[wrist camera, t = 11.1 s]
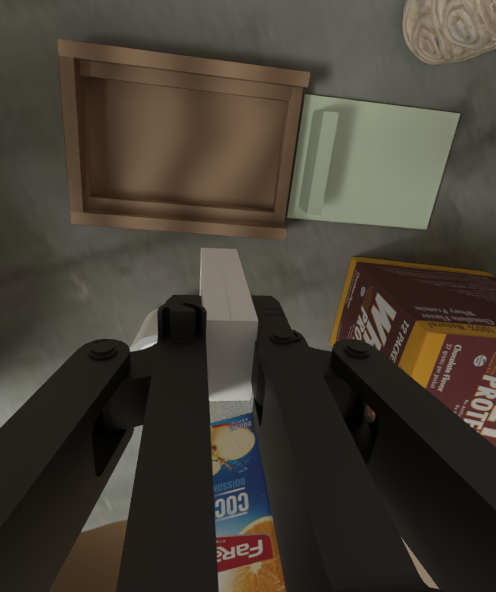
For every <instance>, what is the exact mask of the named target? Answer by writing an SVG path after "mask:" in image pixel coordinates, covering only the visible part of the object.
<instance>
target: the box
mask: <svg viewBox="0 0 496 592" xmlns="http://www.w3.org/2000/svg"><path fill="white" fill-rule="evenodd" d="M57 44H58V57H59V70H60V83H61V97H62V110H63V123H64V137H65V150H66V163H67V177H68V190H69V203H70V216H71V224H79V225H93V226H106V227H119V228H132V229H145V230H158V231H171V232H185V233H198V234H211V235H224V236H237V237H250V238H264V239H277V240H286V234H287V228H286V227H285V225H284V221H285V214H286V207H287V200H288V193H289V186H290V179H291V172H292V165H293V158H294V151H295V144H296V137H297V130H298V123H299V116H300V109H301V102H302V95H303V88H307V87H308V84H309V77H310V72H305V71H297V70H289V69H282V68H274V67H267V66H259V65H252V64H244V63H237V62H229V61H221V60H214V59H206V58H199V57H191V56H184V55H176V54H169V53H161V52H153V51H146V50H138V49H131V48H123V47H116V46H108V45H101V44H93V43H85V42H78V41H70V40H63V39H57Z"/></svg>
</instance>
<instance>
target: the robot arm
mask: <svg viewBox="0 0 496 592" xmlns="http://www.w3.org/2000/svg"><path fill="white" fill-rule="evenodd" d="M157 323H158V339H157V343H156V344H154V345H153V346H151V347H148V348H146V349H142V350H138V351H132V352H130V349H129V347H128V345H127V344H125V343H124V342H122V341H118V340H114V339H101V340H100V339H99V340H95V341H92V342H89V343H87V344H84V345H83V346H82V347H80V348H79V349H78V350H77V351H76V352H75V353H74V354H73V355H72V356H71V357H70V358H69V359H68V360H67V361H66V362H65V363H64V364H63V365H62V366H61V367H60V368H59V369H58V370H57V371H56V372H55V373H54V374H53V375H52V376H51V377H50V378H49V379H48V380H47V381H46V382H45V383H44V384H43V385H42V386H41V387H40V388H39V389H38V390H37V391H36V392H35V393H34V394H33V395H32V396H31V397H30V398H29V399H28V401H27V402H26V403H25V404H24V405H23V406H22V407H21V408H20V409H19V410H18V411H17V412H16V413H15V414H14V415H13V416H12V417H11V418H10V419H9V420H8V421H7V422H6V423H5V424H4V425H3V426H2V427H1V428H0V592H49V590H50V588H51V586H52V584H53V583H54V581H55V579H56V577H57V575H58V573H59V571H60V570H61V568H62V566H63V564H64V562H65V560H66V558H67V556H68V555H69V553H70V550H71V549H72V547H73V545H74V543H75V542H76V540H77V538H78V536H79V534H80V532H81V530H82V528H83V527H84V525H85V523H86V521H87V519H88V517H89V515H90V514H91V512H92V510H93V508H94V506H95V504H96V502H97V501H98V499H99V497H100V495H101V493H102V491H103V489H104V487H105V486H106V484H107V482H108V480H109V478H110V476H111V474H112V473H113V471H114V469H115V467H116V465H117V463H118V461H119V459H120V458H121V456H122V454H123V452H124V450H125V448H126V446H127V445H128V443H129V441H130V439H131V437H132V435H133V431H134V427H136V426H140V425H143V431H142V437H141V443H140V449H139V455H138V461H137V467H136V473H135V479H134V485H133V491H132V497H131V503H130V510H129V516H128V522H127V528H126V534H125V541H124V546H123V553H122V558H121V564H120V570H119V576H118V582H117V589H116V592H219V585H218V566H217V546H216V527H215V507H214V488H213V468H212V448H211V429H210V409H209V401H251V392H252V390H253V394H254V401H253V411H252V421H251V431H250V432H254V430H255V427H256V433H257V438H258V443H259V449H260V454H261V459H262V465H263V470H264V475H265V481H266V486H267V491H268V497H269V502H270V507H271V513H272V518H273V523H274V529H275V534H276V539H277V545H278V550H279V555H280V561H281V566H282V571H283V577H284V582H285V587H286V592H496V447H495V446H494V445H493V444H491V443H490V442H489V441H488V440H487V439H485V438H484V437H483V436H482V435H481V434H479V433H478V432H477V431H476V430H475V429H473V428H472V427H471V426H470V425H469V424H467V423H466V422H465V421H464V420H462V419H461V418H460V417H459V416H458V415H456V414H455V413H454V412H453V411H452V410H450V409H449V408H448V407H447V406H446V405H444V404H443V403H442V402H441V401H440V400H438V399H437V398H436V397H435V396H434V395H432V394H431V393H430V392H429V391H427V390H426V389H425V388H424V387H423V386H421V385H420V384H419V383H418V382H417V381H415V380H414V379H413V378H412V377H411V376H409V375H408V374H407V373H406V372H405V371H403V370H402V369H401V368H400V367H399V366H397V365H396V364H395V363H394V362H392V361H391V360H390V359H389V358H388V357H386V356H385V355H384V354H383V353H382V352H380V351H379V350H378V349H377V348H375V347H374V346H372V345H371V344H369V343H366V342H363V341H362V340H358V339H357V340H356V339H343V340H339V341H337V342H336V343H335V344H333V350H332V352H330V351H325V350H319V349H315V348H311V347H309V346H308V344H307V342H306V340H305V338H304V337H303V336H302V335H301V334H300V333H298V332H297V331H295V330H292V329H291V327H290V325H289V323H288V321H287V318H286V316H285V314H284V312H283V310H282V307H281V305H280V303H279V302H278V301H277V300H276V299H274V298H273V297H272V296H251V295H250V292H249V289H248V285H247V282H246V279H245V276H244V272H243V269H242V266H241V262H240V259H239V256H238V253H237V249H223V248H201V263H200V295H173V296H172V297H171V298H169V299H168V300H167V301H166V304H164V305H162V306H161V307H160V308H159V309H158V311H157ZM369 407H370V408H371V409H372V411H373V412H374V413H375V419H374V420H372V419H371V418H370V417H369V416H368V414H367V413H368V409H369ZM401 537H402V539H403V540H404V541H405V542H406V544H407V545H408V547H409V548H410V550H411V551H412V552H413V554H414V555H415V556H416V558H417V559H418V560H419V562H420V563H421V564H422V566H423V567H424V569H425V570H426V571H427V573H428V574H429V575H430V577H431V578H432V579H433V581H434V582H435V583H436V585H437V586H438V588H439V589H435V588H429V587H428V586H427V585H426V584H425V583H424V582H423V580H422V579H421V577H420V575H419V574H418V572H417V570H416V568H415V565H414V563H413V561H412V559H411V557H410V555H409V553H408V551H407V549H406V547H405V545H404V543H403V541H402V539H401Z"/></svg>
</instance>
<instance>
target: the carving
mask: <svg viewBox="0 0 496 592" xmlns="http://www.w3.org/2000/svg"><path fill="white" fill-rule="evenodd" d="M402 26H403V33H404V39H405V42H406V44H407V46H408V48H409V49H410V51H411V52H412V53H413V54H414V55H415V56H416V57H417V58H418V59H420V60H421V61H423V62H425V63H427V64H429V65H436V64H437V65H441V64H450V63H455V62H461V61H465V60H468V59H471V58H474V57H476V56H478V55H481V54H483V53H485V52H488V51H492V50H495V49H496V0H406V3H405V8H404V13H403V23H402Z"/></svg>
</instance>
